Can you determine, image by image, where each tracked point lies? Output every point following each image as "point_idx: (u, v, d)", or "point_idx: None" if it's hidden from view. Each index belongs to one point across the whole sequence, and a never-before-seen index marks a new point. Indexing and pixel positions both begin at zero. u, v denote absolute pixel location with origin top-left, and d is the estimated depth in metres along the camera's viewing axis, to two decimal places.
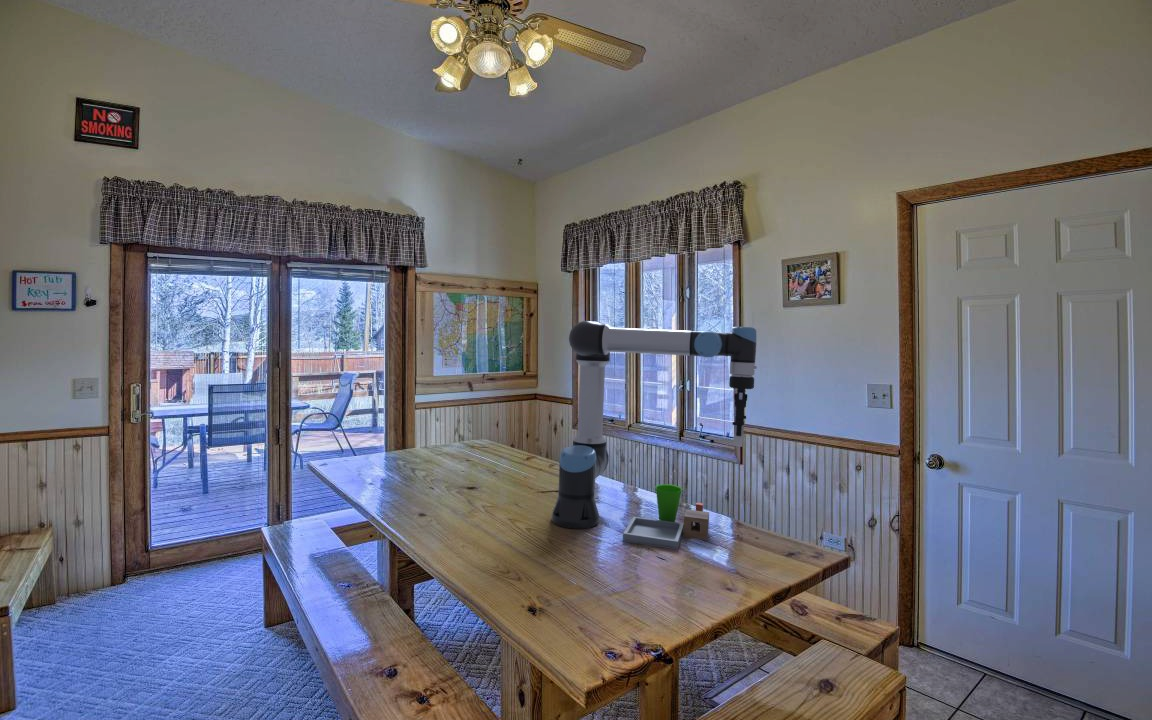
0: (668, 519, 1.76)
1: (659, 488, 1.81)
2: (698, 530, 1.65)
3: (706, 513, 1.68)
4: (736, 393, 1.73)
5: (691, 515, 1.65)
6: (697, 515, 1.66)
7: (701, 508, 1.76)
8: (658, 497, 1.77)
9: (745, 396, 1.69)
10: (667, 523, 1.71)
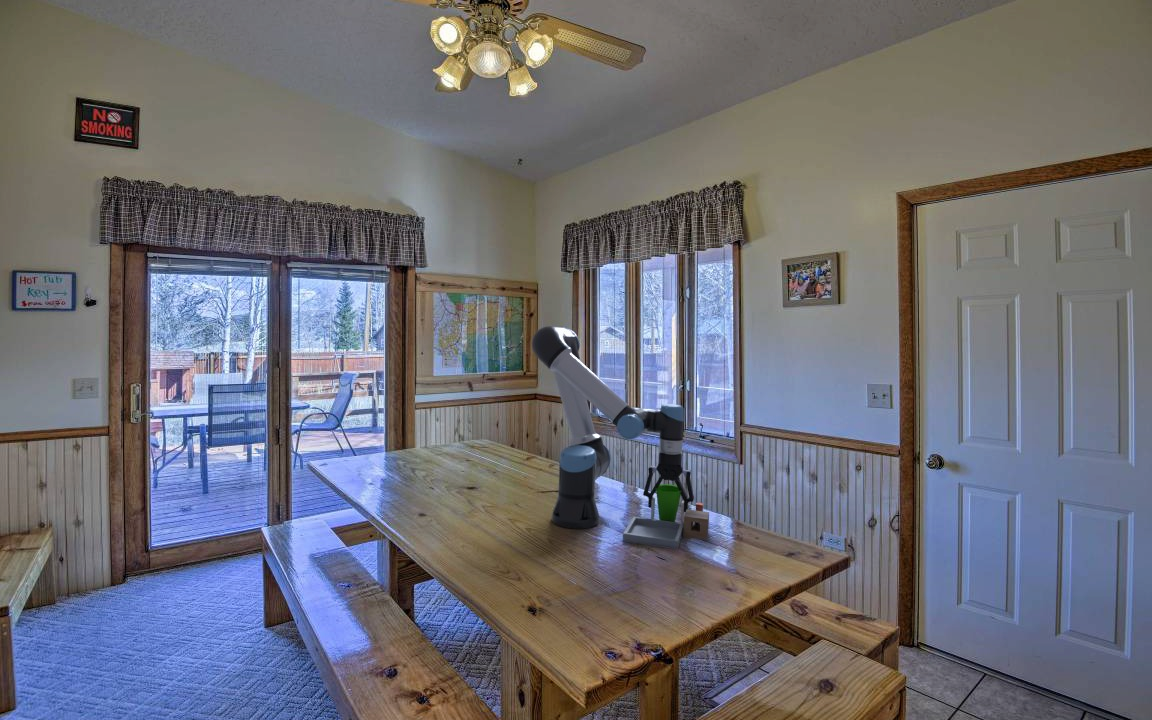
0: (668, 519, 1.76)
1: (659, 488, 1.81)
2: (698, 530, 1.65)
3: (706, 513, 1.68)
4: None
5: (691, 515, 1.65)
6: (697, 515, 1.66)
7: (701, 508, 1.76)
8: (658, 497, 1.77)
9: (662, 471, 1.77)
10: (667, 523, 1.71)
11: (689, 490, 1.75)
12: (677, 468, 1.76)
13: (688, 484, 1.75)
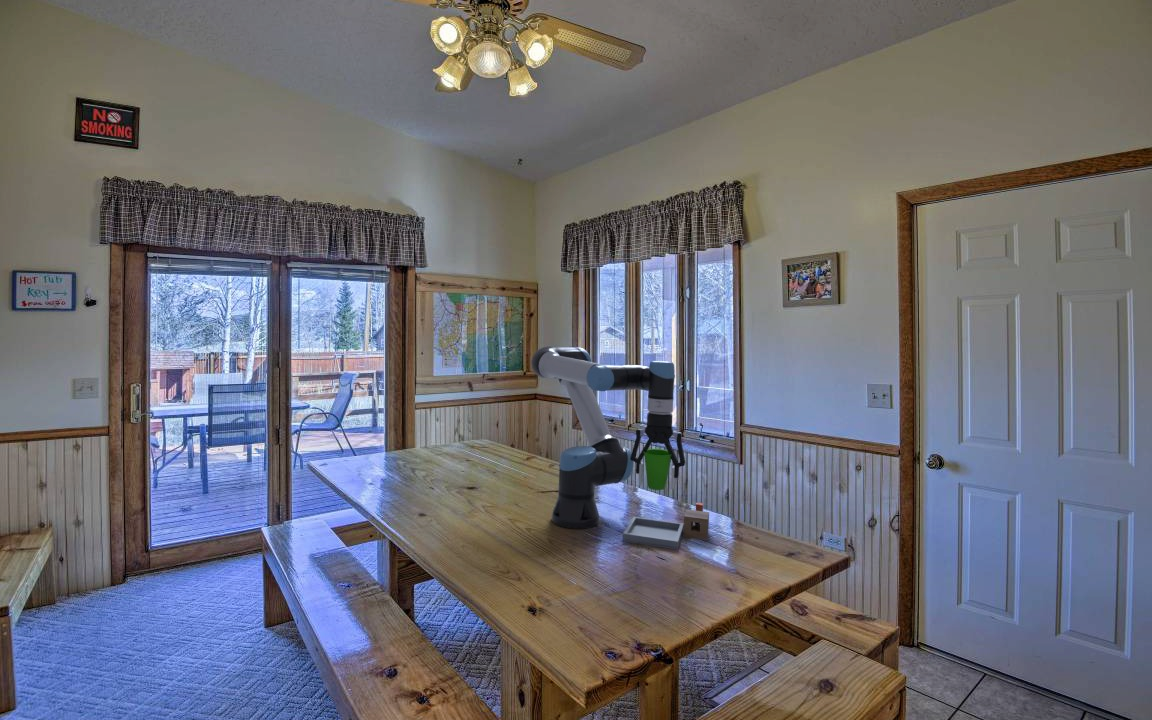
0: (657, 485, 1.61)
1: (648, 453, 1.67)
2: (698, 530, 1.65)
3: (706, 513, 1.68)
4: None
5: (691, 515, 1.65)
6: (697, 515, 1.66)
7: (701, 508, 1.76)
8: (646, 462, 1.63)
9: (651, 433, 1.63)
10: (667, 523, 1.71)
11: (680, 453, 1.61)
12: (667, 430, 1.62)
13: (679, 447, 1.61)
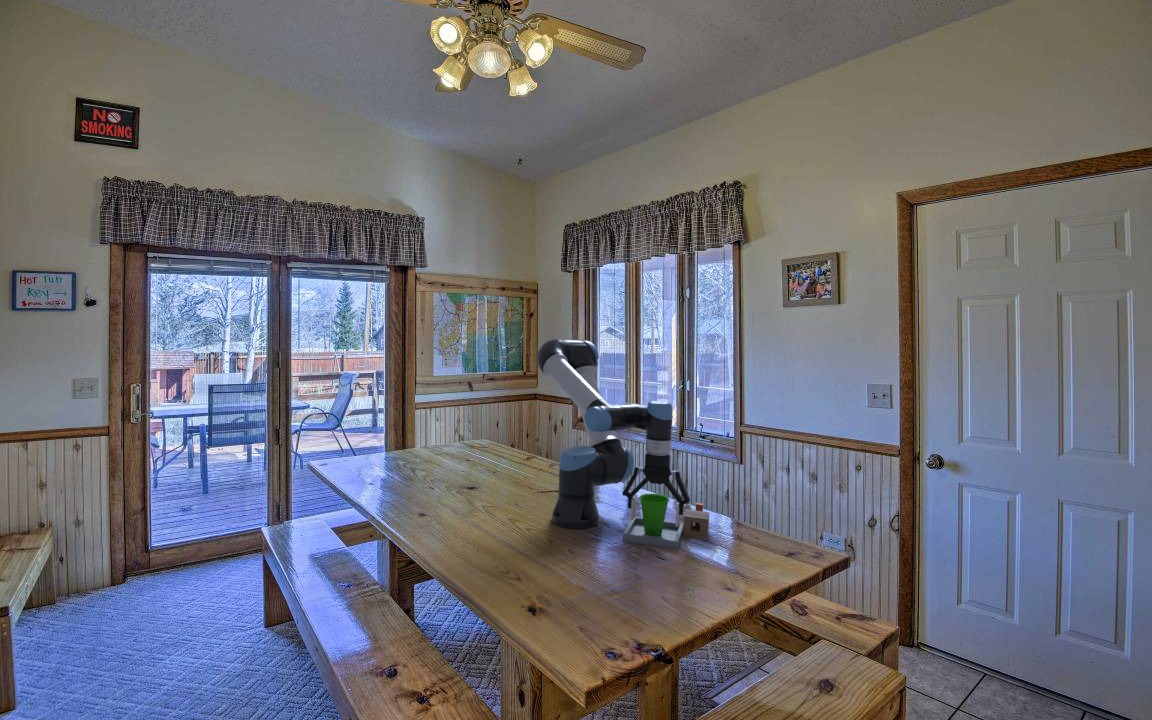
0: (654, 532, 1.62)
1: (644, 498, 1.67)
2: (698, 530, 1.65)
3: (706, 513, 1.68)
4: None
5: (691, 515, 1.65)
6: (697, 515, 1.66)
7: (701, 508, 1.76)
8: (642, 508, 1.63)
9: (649, 473, 1.63)
10: (667, 523, 1.71)
11: (682, 491, 1.61)
12: (664, 471, 1.62)
13: (680, 485, 1.61)
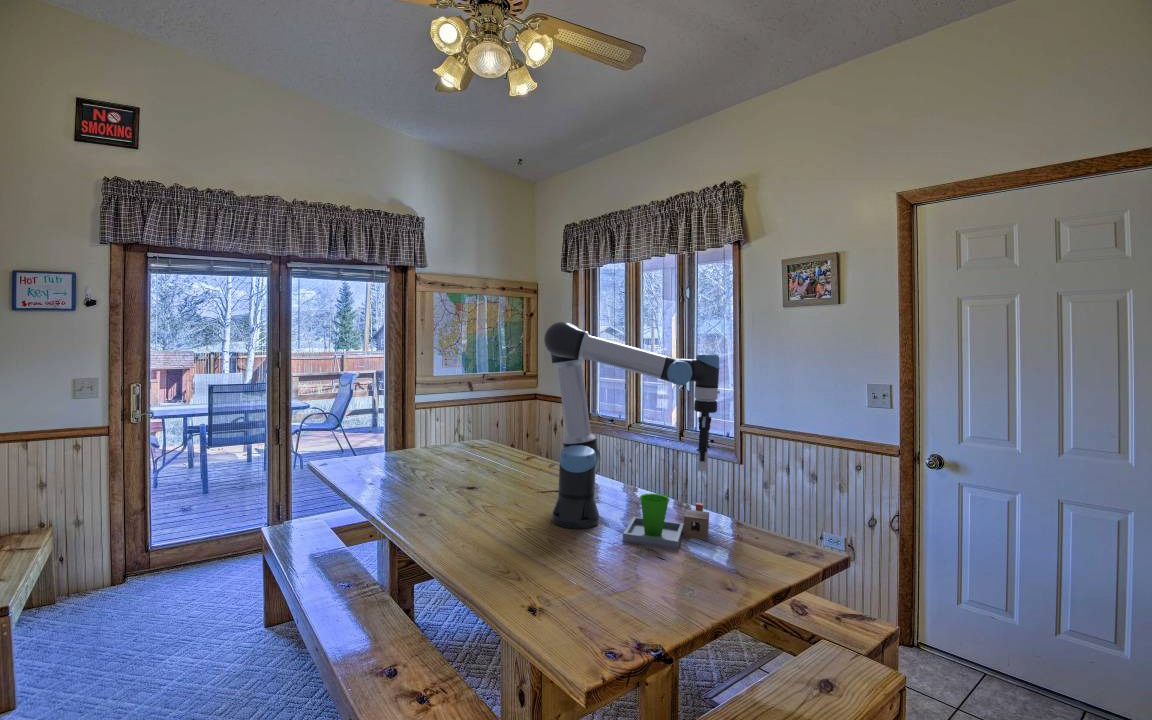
0: (654, 532, 1.62)
1: (644, 498, 1.67)
2: (698, 530, 1.65)
3: (706, 513, 1.68)
4: (701, 416, 1.84)
5: (691, 515, 1.65)
6: (697, 515, 1.66)
7: (701, 508, 1.76)
8: (643, 508, 1.63)
9: (708, 420, 1.79)
10: (667, 523, 1.71)
11: (708, 434, 1.87)
12: None
13: None
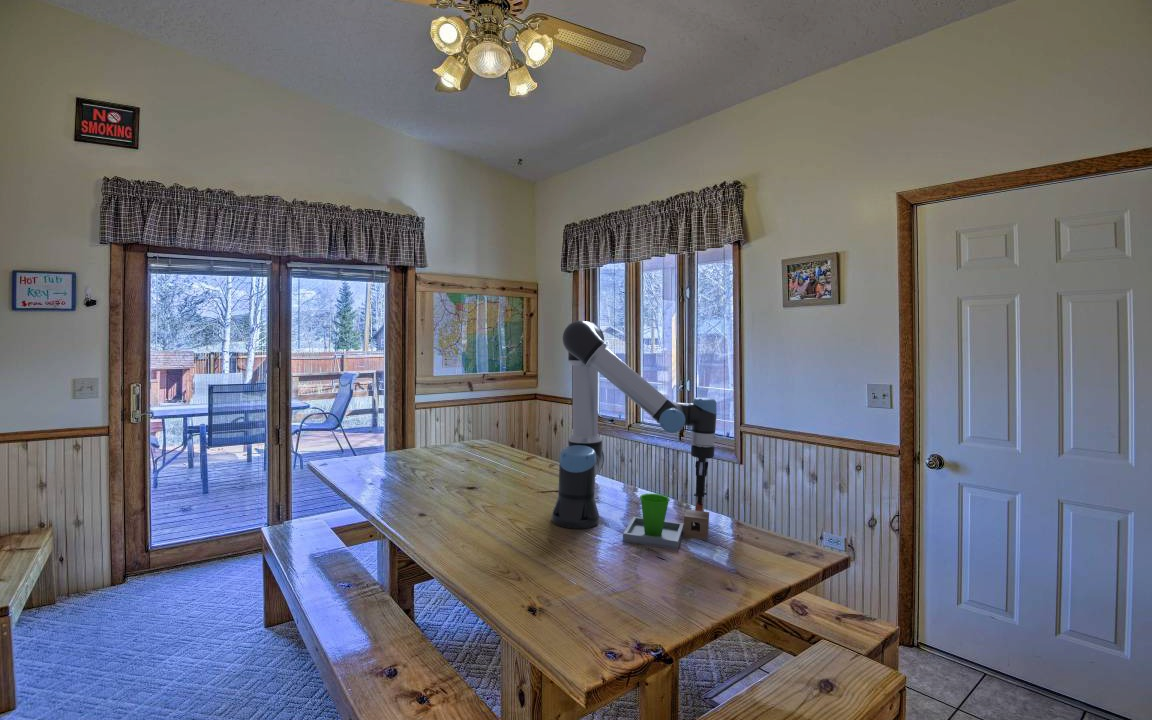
0: (654, 532, 1.62)
1: (644, 498, 1.67)
2: (698, 530, 1.65)
3: (706, 513, 1.68)
4: (698, 460, 1.81)
5: (691, 515, 1.65)
6: (697, 515, 1.66)
7: (701, 508, 1.76)
8: (643, 508, 1.63)
9: (705, 466, 1.77)
10: (667, 523, 1.71)
11: None
12: None
13: None
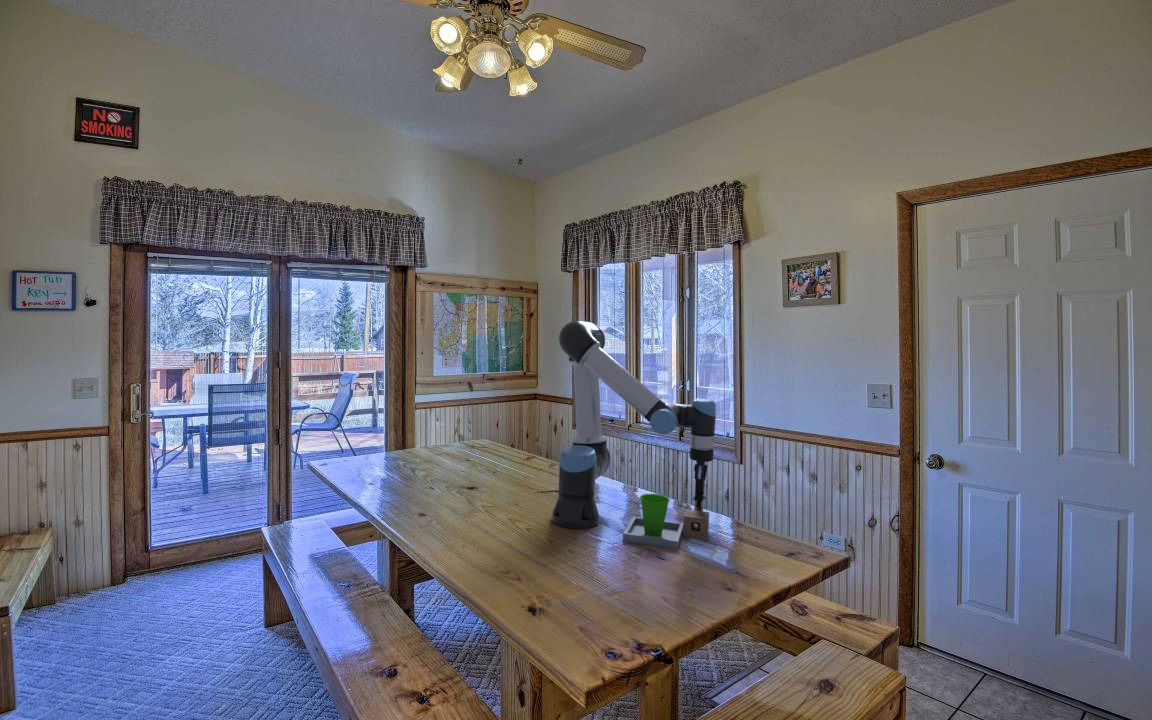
0: (654, 532, 1.62)
1: (644, 498, 1.67)
2: (698, 530, 1.65)
3: (706, 513, 1.68)
4: None
5: (691, 515, 1.65)
6: (697, 515, 1.66)
7: None
8: (643, 508, 1.63)
9: (704, 470, 1.73)
10: (667, 523, 1.71)
11: None
12: None
13: None
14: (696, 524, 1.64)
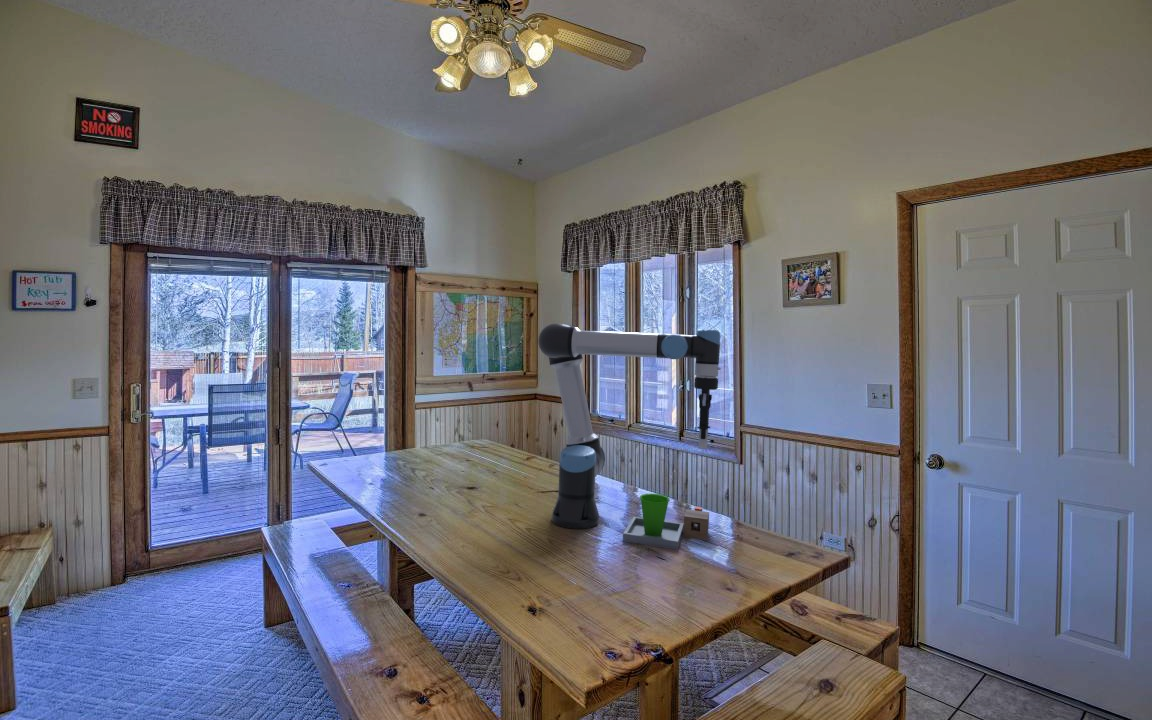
0: (654, 532, 1.62)
1: (644, 498, 1.67)
2: (698, 530, 1.65)
3: (706, 513, 1.68)
4: (701, 394, 1.79)
5: (691, 515, 1.65)
6: (697, 515, 1.66)
7: None
8: (643, 508, 1.63)
9: (709, 398, 1.75)
10: (667, 523, 1.71)
11: None
12: (709, 391, 1.80)
13: None
14: (696, 524, 1.64)
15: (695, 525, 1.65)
